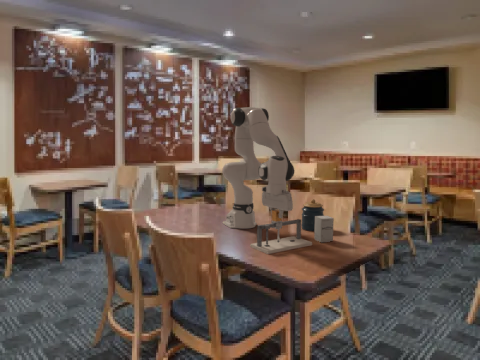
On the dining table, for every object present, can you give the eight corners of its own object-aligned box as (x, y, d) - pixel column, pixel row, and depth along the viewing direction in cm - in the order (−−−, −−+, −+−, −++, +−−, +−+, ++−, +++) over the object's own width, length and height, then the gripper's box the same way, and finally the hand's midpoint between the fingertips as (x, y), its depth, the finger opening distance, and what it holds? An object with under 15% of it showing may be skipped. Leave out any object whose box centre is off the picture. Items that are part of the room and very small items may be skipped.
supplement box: (320, 243, 203) (320, 218, 202) (313, 239, 210) (314, 215, 209) (333, 241, 205) (334, 217, 204) (326, 238, 212) (327, 215, 211)
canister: (324, 231, 226) (325, 201, 224) (301, 231, 228) (301, 200, 226) (323, 226, 239) (323, 197, 237) (301, 225, 241) (301, 197, 239)
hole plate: (250, 247, 195) (250, 223, 194) (293, 238, 211) (294, 217, 209) (267, 254, 184) (267, 229, 182) (312, 245, 199) (312, 222, 198)
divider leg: (271, 241, 198) (271, 210, 196) (276, 240, 200) (277, 209, 198) (276, 243, 195) (276, 211, 193) (281, 241, 196) (282, 210, 195)
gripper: (296, 191, 187) (295, 220, 189) (269, 186, 204) (269, 213, 206) (285, 192, 184) (285, 221, 185) (259, 187, 201) (259, 214, 202)
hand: (276, 217), depth 196 cm, fingers closed on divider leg, 3 cm apart
